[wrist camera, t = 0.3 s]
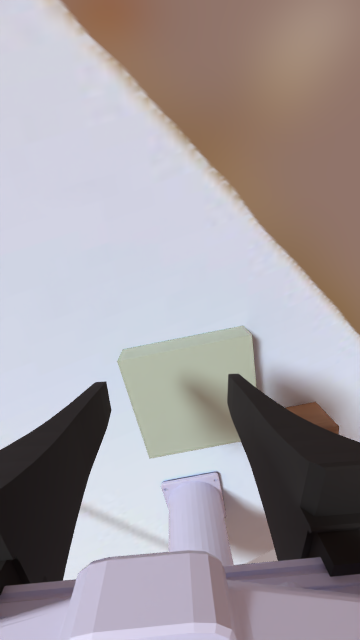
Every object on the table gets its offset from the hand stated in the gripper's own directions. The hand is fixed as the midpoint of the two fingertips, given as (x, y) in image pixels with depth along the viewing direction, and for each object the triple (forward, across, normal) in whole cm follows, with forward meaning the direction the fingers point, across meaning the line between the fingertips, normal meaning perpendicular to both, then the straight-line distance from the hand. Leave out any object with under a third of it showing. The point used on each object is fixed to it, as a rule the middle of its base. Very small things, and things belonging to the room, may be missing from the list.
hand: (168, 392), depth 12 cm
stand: (+10, -2, +7) cm, 13 cm away
